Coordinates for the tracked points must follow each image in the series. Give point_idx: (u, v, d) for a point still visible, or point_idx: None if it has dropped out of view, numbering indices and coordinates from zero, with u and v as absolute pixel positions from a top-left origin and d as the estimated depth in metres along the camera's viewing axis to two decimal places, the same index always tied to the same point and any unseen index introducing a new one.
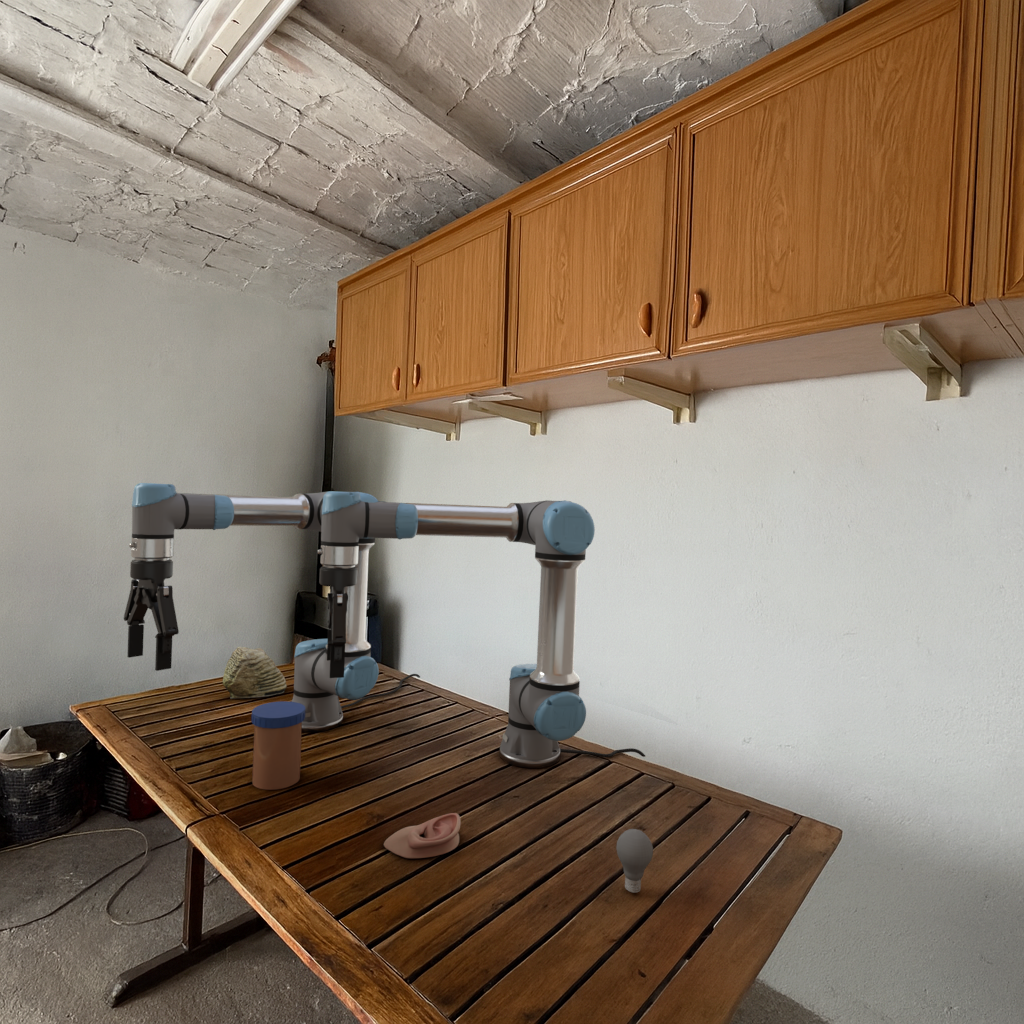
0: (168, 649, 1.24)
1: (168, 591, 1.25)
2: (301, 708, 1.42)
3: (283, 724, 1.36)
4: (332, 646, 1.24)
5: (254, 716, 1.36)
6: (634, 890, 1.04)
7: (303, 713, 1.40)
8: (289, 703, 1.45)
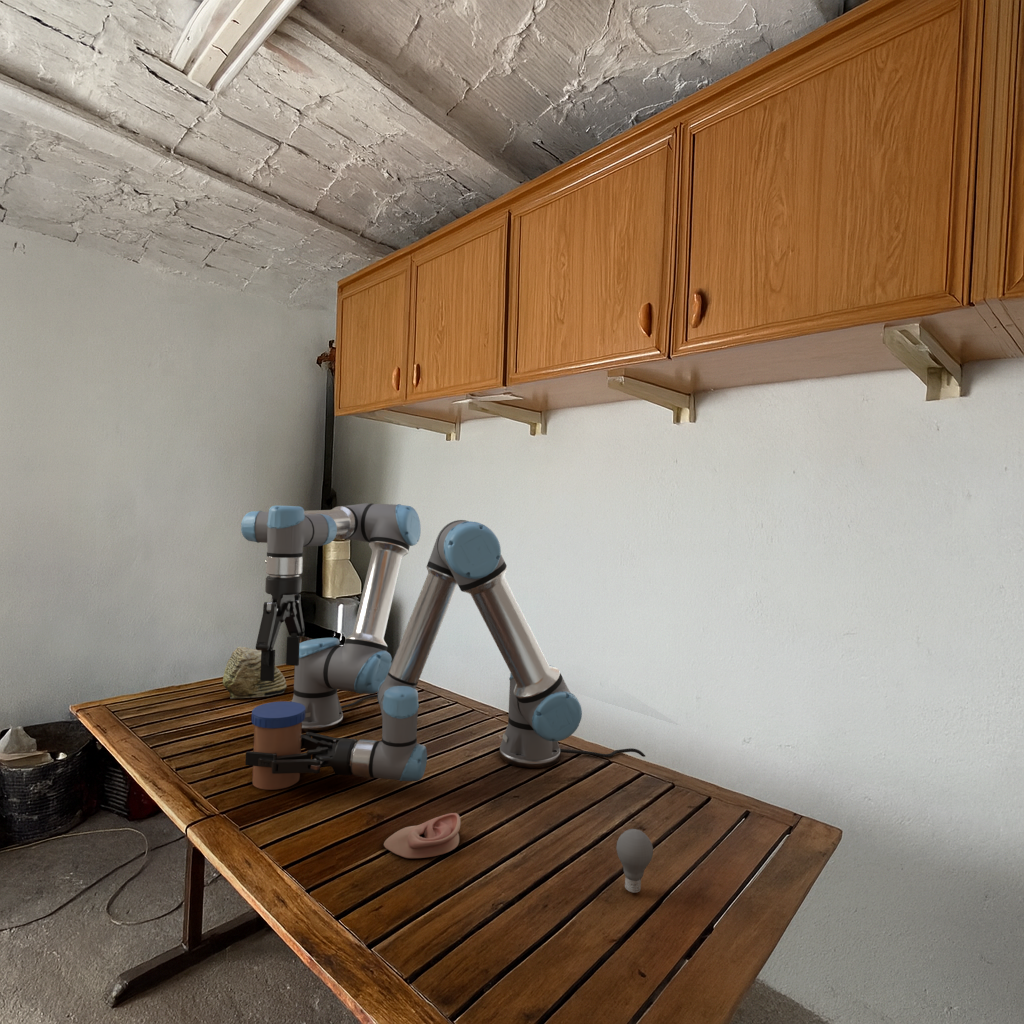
0: (265, 662, 1.32)
1: (270, 608, 1.33)
2: (301, 708, 1.42)
3: (283, 724, 1.36)
4: None
5: (254, 716, 1.36)
6: (634, 890, 1.04)
7: (303, 713, 1.40)
8: (289, 703, 1.45)
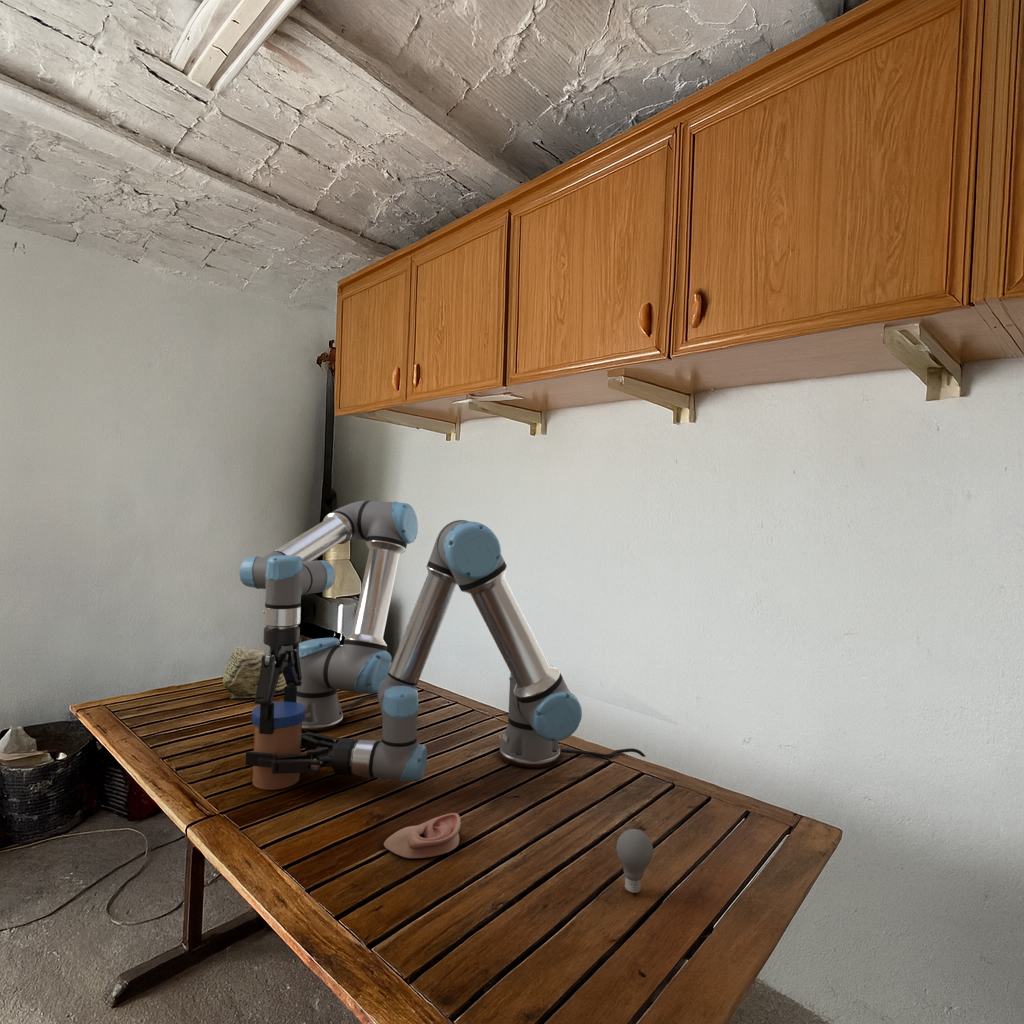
0: (264, 716, 1.33)
1: (269, 661, 1.33)
2: (301, 708, 1.42)
3: (283, 724, 1.36)
4: None
5: (254, 716, 1.36)
6: (634, 890, 1.04)
7: (303, 713, 1.40)
8: (289, 703, 1.45)
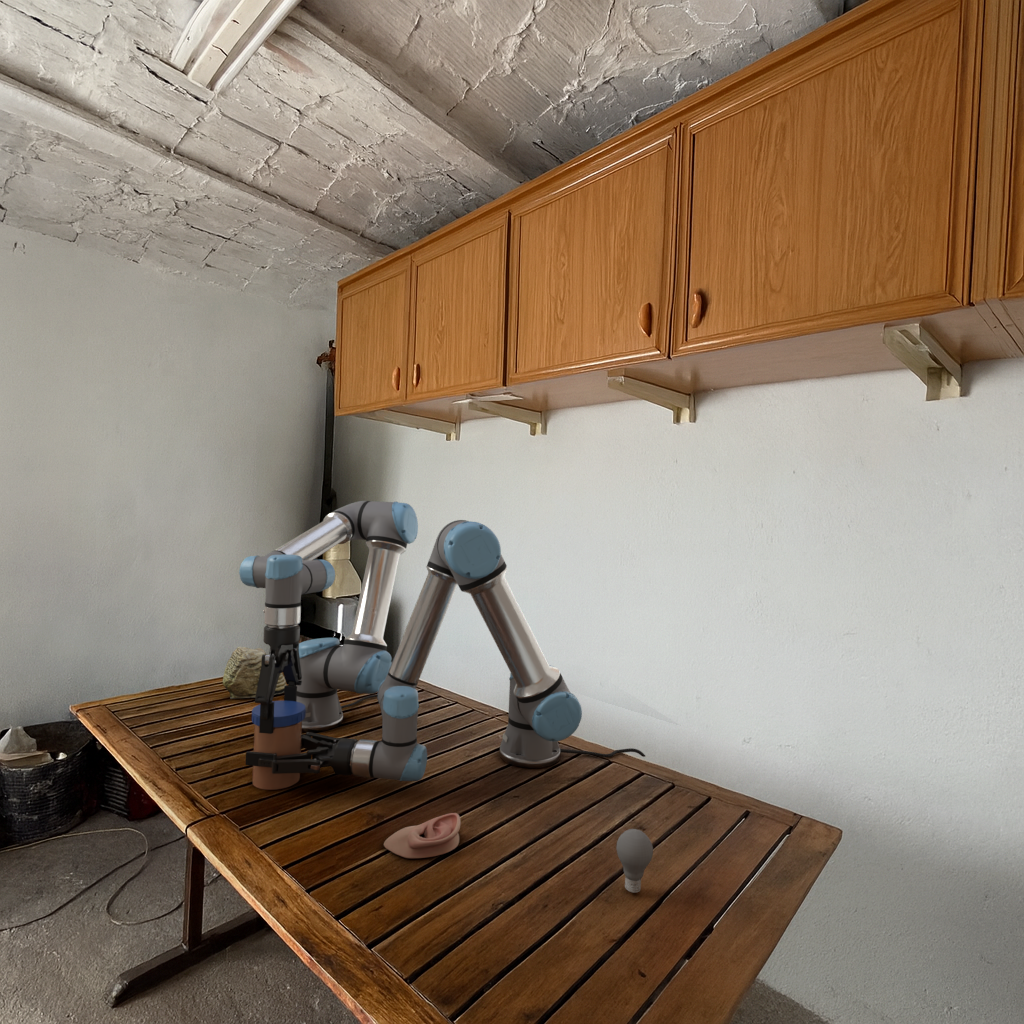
0: (264, 715, 1.33)
1: (269, 660, 1.33)
2: (292, 702, 1.45)
3: (303, 716, 1.40)
4: None
5: (276, 718, 1.35)
6: (634, 890, 1.04)
7: None
8: None
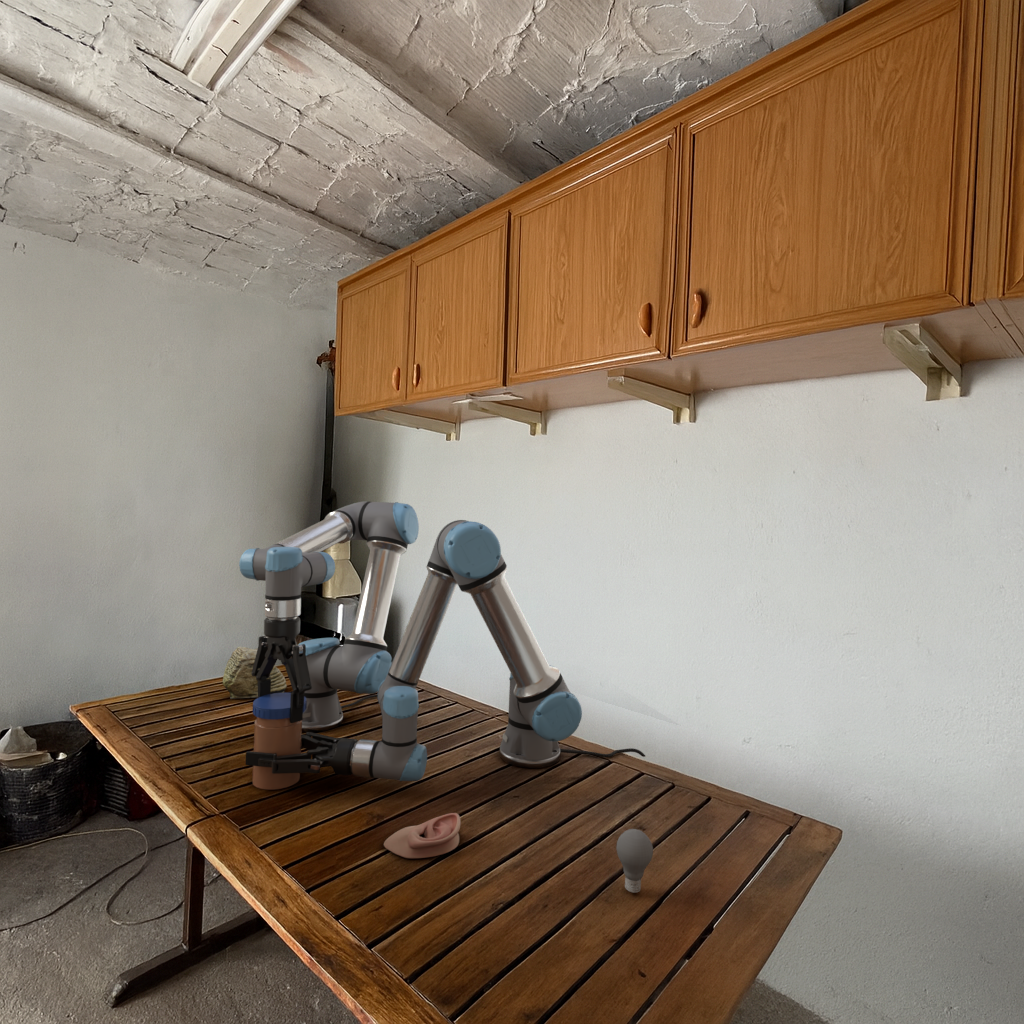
0: (301, 703, 1.37)
1: (302, 650, 1.37)
2: (271, 694, 1.44)
3: None
4: None
5: None
6: (634, 890, 1.04)
7: None
8: (259, 701, 1.40)
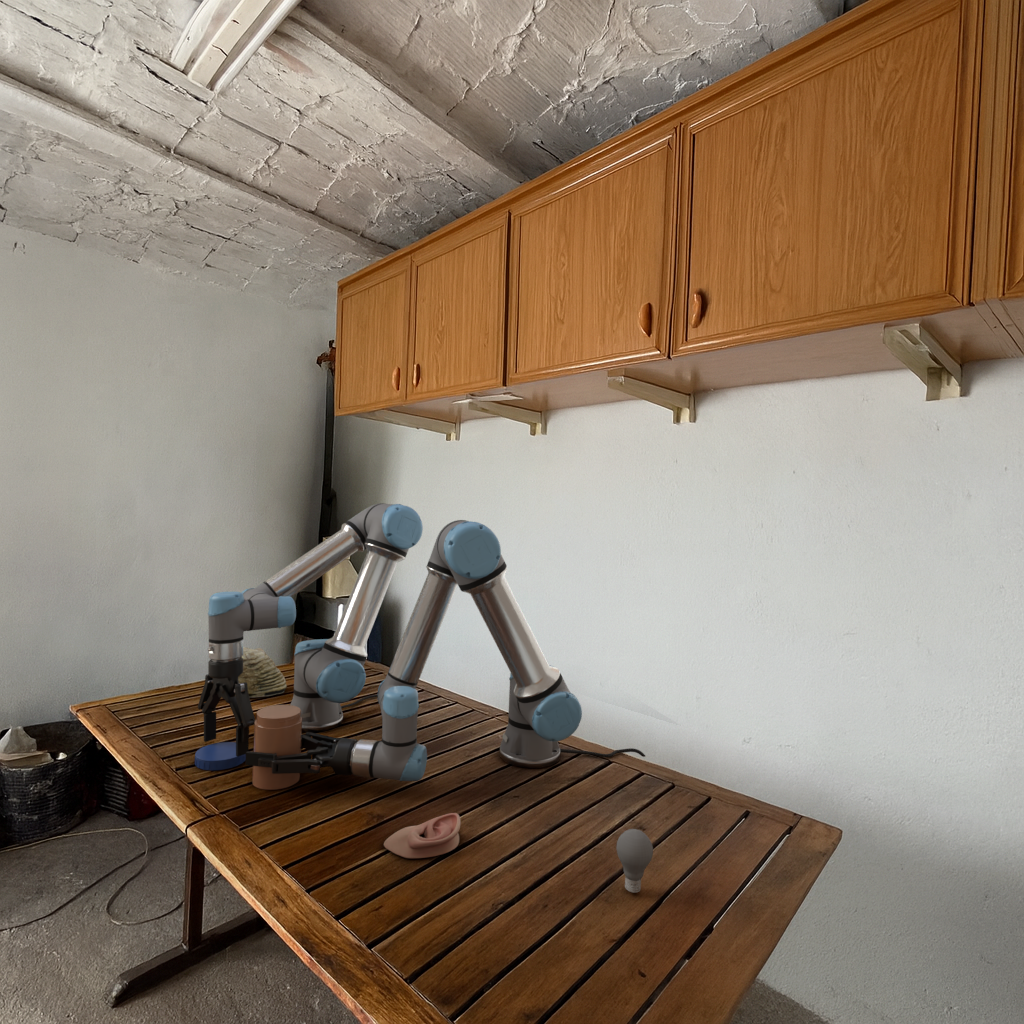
0: (246, 737, 1.45)
1: (244, 687, 1.46)
2: (214, 744, 1.53)
3: None
4: None
5: (241, 756, 1.48)
6: (634, 890, 1.04)
7: None
8: (201, 752, 1.48)
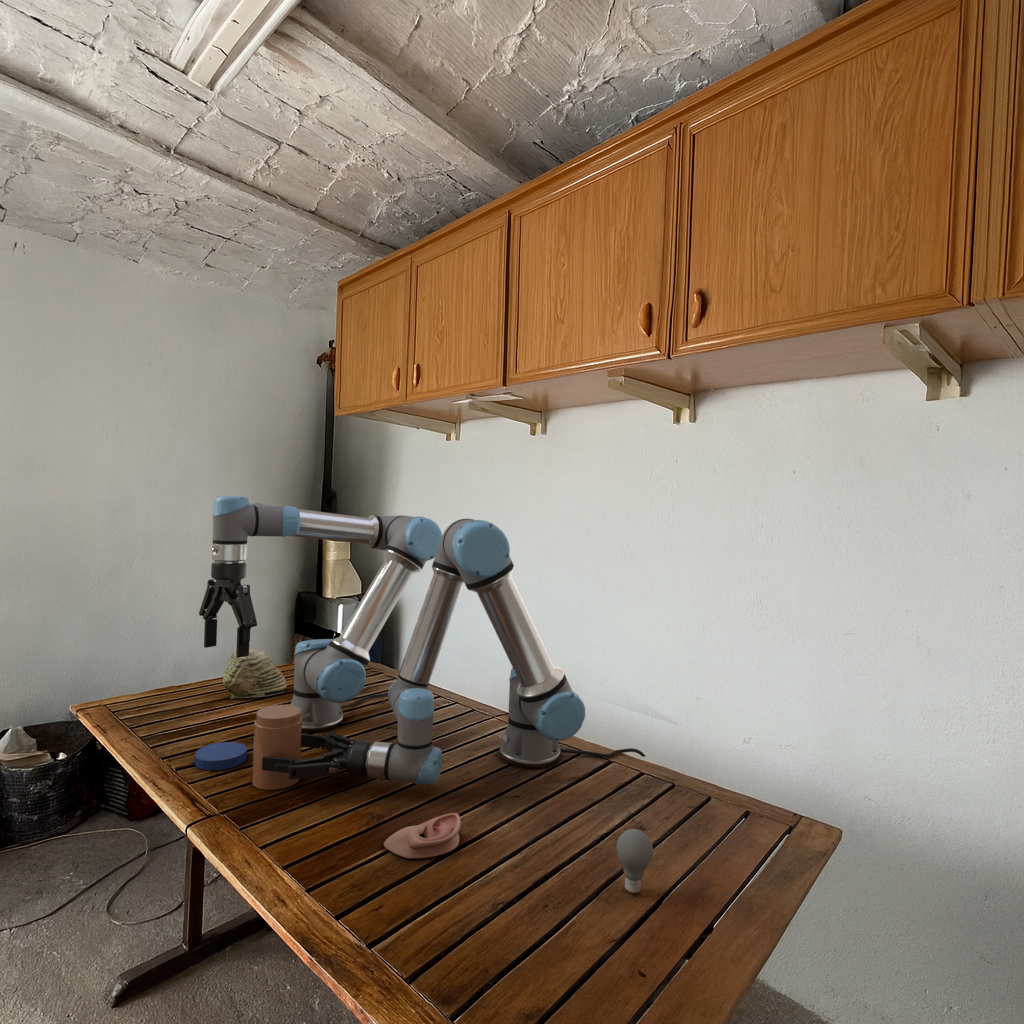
0: (247, 639, 1.45)
1: (247, 589, 1.45)
2: (214, 744, 1.53)
3: None
4: None
5: (241, 756, 1.48)
6: (634, 890, 1.04)
7: None
8: (201, 752, 1.48)
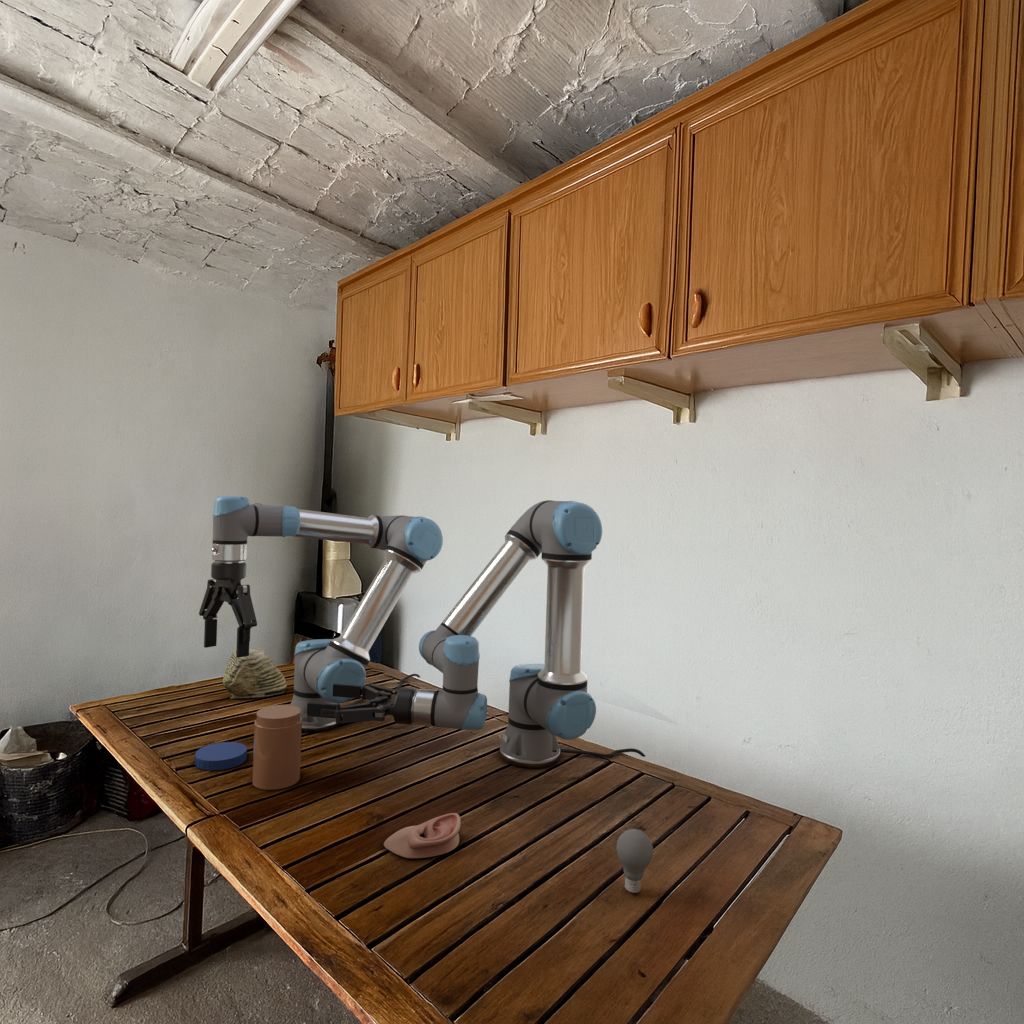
0: (247, 639, 1.45)
1: (247, 589, 1.45)
2: (214, 744, 1.53)
3: None
4: None
5: (241, 756, 1.48)
6: (634, 890, 1.04)
7: None
8: (201, 752, 1.48)
